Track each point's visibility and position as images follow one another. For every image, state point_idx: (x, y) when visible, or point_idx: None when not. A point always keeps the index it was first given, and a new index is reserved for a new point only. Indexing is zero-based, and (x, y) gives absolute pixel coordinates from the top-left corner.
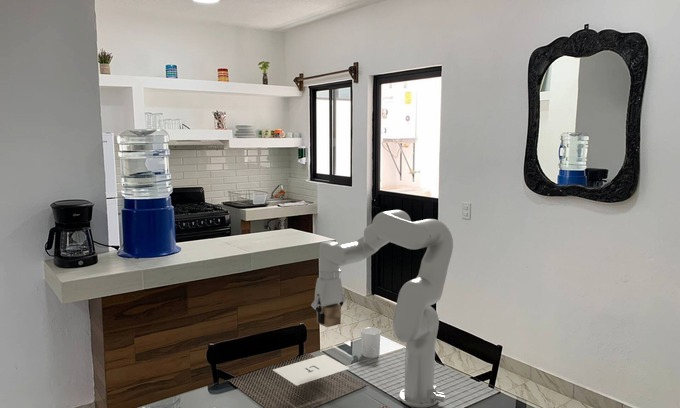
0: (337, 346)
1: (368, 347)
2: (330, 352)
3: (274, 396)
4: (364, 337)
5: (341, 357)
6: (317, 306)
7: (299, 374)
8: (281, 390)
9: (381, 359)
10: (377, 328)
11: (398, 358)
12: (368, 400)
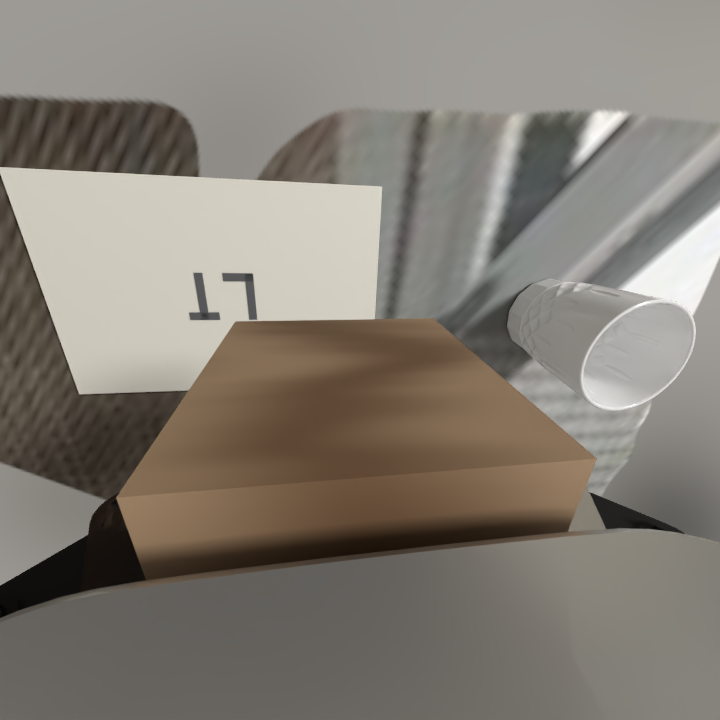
0: (527, 118)
1: (534, 356)
2: (438, 166)
3: None
4: (562, 358)
5: (432, 259)
6: (145, 484)
7: (137, 312)
8: (4, 379)
9: (529, 373)
10: (690, 354)
11: (574, 399)
12: None
